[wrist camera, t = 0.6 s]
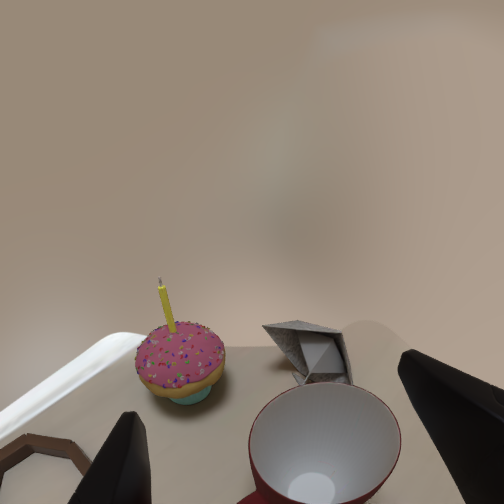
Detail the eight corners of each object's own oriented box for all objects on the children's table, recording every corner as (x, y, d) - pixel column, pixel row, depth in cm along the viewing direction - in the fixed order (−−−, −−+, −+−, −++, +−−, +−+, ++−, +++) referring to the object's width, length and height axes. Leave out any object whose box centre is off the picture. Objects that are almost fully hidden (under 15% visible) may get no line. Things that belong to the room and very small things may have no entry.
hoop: (114, 595, 8) (105, 594, 7) (-20, 542, 7) (-31, 536, 6) (120, 451, 21) (113, 443, 21) (6, 434, 20) (-2, 426, 19)
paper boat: (387, 355, 29) (380, 409, 20) (346, 389, 31) (326, 444, 23) (303, 281, 31) (269, 313, 23) (268, 322, 34) (227, 360, 26)
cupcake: (146, 367, 31) (113, 275, 26) (219, 350, 33) (202, 255, 28) (155, 429, 24) (106, 335, 18) (242, 408, 26) (227, 308, 21)
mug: (288, 575, 11) (295, 573, 7) (211, 511, 17) (176, 465, 12) (382, 482, 17) (426, 420, 13) (307, 435, 23) (316, 361, 18)
